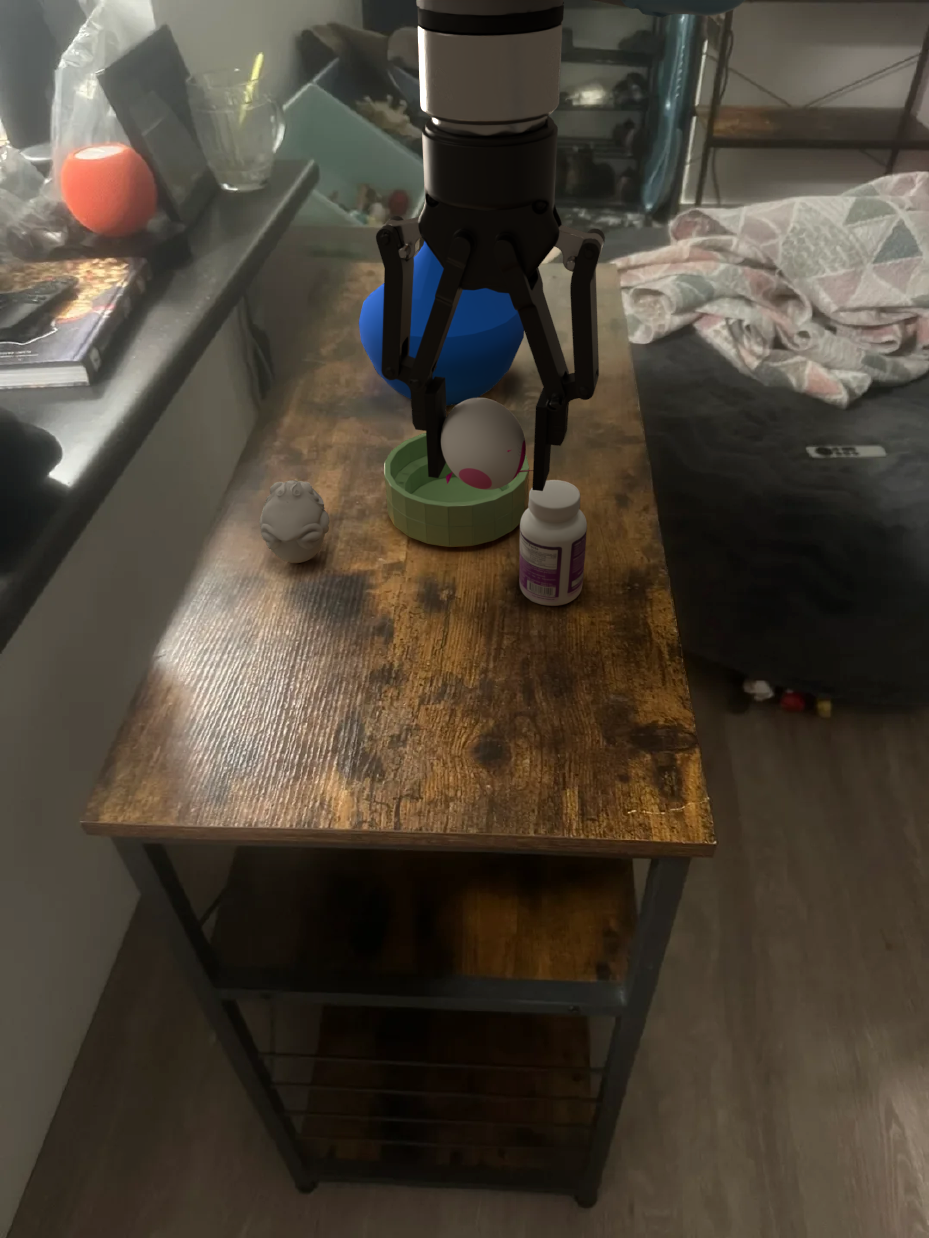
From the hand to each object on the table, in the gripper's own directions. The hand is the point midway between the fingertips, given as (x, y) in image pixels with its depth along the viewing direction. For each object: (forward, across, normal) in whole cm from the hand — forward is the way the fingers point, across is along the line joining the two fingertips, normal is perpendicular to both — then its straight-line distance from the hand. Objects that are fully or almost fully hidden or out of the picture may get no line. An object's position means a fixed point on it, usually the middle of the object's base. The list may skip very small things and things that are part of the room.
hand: (489, 473), depth 64 cm
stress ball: (+1, 0, 0) cm, 1 cm away
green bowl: (+14, +6, -14) cm, 20 cm away
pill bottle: (+14, -4, -4) cm, 15 cm away
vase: (+14, +14, -38) cm, 43 cm away
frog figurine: (+14, +18, -4) cm, 23 cm away
